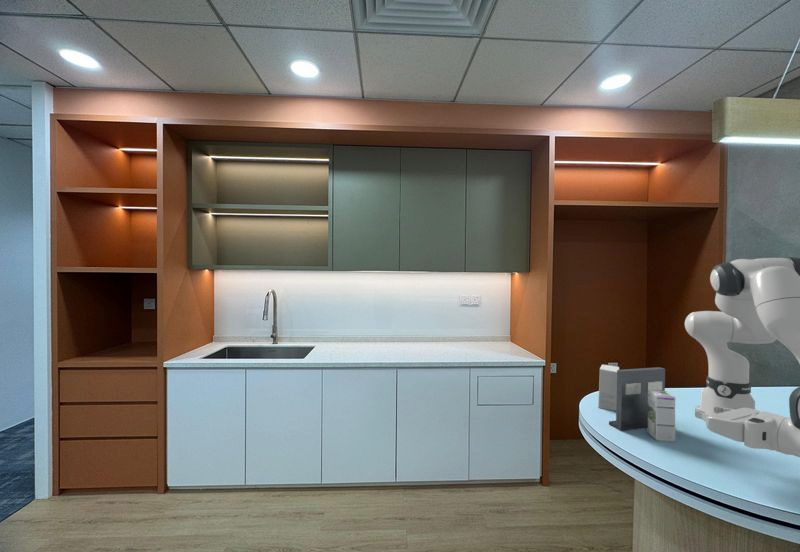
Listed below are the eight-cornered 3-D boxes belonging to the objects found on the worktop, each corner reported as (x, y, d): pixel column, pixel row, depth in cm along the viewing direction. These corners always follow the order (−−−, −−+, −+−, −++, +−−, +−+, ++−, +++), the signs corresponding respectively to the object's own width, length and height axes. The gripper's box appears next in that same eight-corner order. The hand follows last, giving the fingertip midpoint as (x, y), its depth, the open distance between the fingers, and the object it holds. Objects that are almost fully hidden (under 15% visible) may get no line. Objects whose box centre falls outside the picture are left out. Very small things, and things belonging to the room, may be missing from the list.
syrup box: (675, 442, 112) (677, 396, 112) (654, 440, 113) (655, 394, 113) (666, 434, 118) (667, 390, 118) (646, 432, 119) (647, 389, 119)
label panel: (650, 420, 129) (651, 364, 128) (664, 426, 124) (666, 368, 123) (608, 424, 125) (610, 367, 124) (621, 431, 119) (622, 371, 119)
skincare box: (600, 401, 147) (601, 363, 147) (619, 405, 143) (620, 366, 143) (597, 408, 140) (598, 368, 140) (617, 412, 136) (618, 371, 136)
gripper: (789, 412, 95) (725, 396, 108) (749, 424, 87) (685, 404, 100) (789, 436, 95) (725, 417, 108) (748, 449, 87) (684, 427, 100)
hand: (705, 411), depth 104 cm, fingers open, 8 cm apart
